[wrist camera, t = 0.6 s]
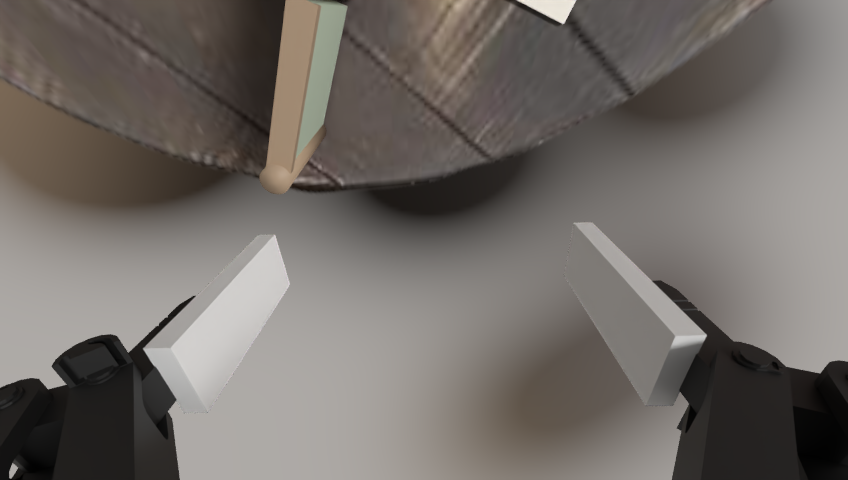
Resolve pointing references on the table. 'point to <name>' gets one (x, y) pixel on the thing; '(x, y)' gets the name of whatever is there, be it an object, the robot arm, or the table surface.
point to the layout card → (551, 8)
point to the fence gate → (302, 87)
